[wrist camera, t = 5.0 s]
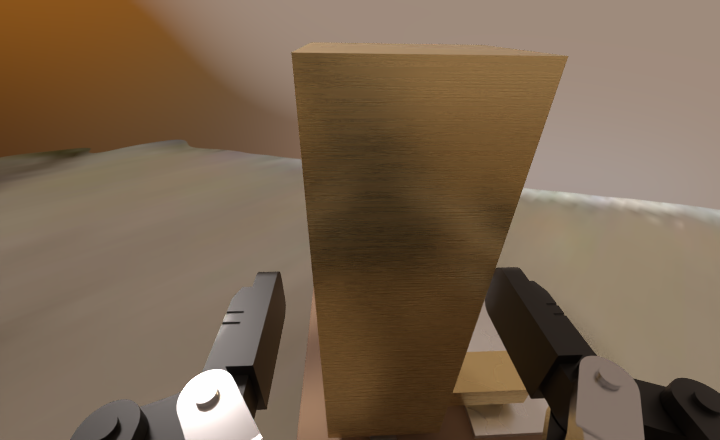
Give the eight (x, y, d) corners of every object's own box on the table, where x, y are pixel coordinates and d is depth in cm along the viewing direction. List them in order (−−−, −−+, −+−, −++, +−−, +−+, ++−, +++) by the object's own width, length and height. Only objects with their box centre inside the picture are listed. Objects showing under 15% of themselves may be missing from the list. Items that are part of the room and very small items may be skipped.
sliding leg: (533, 429, 14) (796, 58, 6) (328, 440, 13) (291, 52, 5) (496, 351, 17) (628, 46, 9) (331, 357, 17) (311, 42, 9)
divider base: (560, 463, 15) (891, 109, 6) (298, 478, 14) (204, 106, 5) (437, 217, 34) (469, 46, 25) (323, 219, 34) (313, 43, 24)
